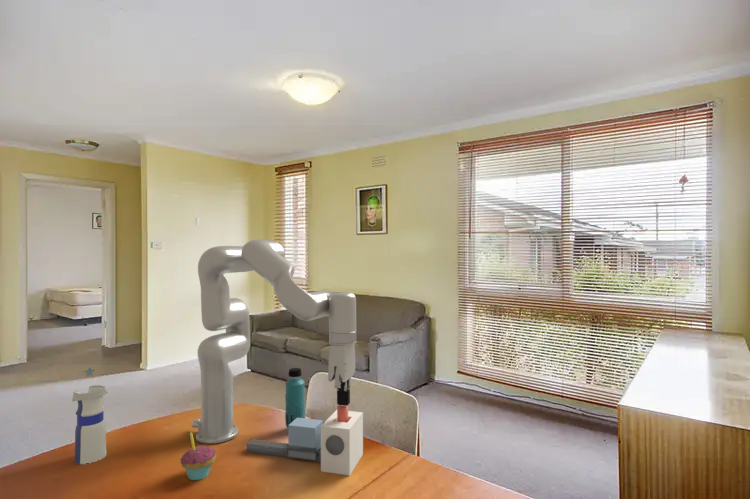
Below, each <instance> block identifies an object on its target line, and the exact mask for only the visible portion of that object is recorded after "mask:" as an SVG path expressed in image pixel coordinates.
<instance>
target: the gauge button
mask: <svg viewBox="0 0 750 499" xmlns="http://www.w3.org/2000/svg"><path fill="white" fill-rule="evenodd" d="M336 408H337V409H336V410H337V421H338V422H348V411H349V404H348V405H347V406H345V405H338V404H337V407H336Z"/></svg>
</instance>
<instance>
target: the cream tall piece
mask: <svg viewBox="0 0 750 499" xmlns="http://www.w3.org/2000/svg"><path fill="white" fill-rule="evenodd" d="M96 370H97V368H92V367H91V366H89V367H88V368H87V369H85V370H83V371H82V373H85V376H84V378H87V377H94V376H95V375H94V372H95V371H96ZM107 393H108V390H107V388H106V386H104V385H100V384H97V385H95V384H94V385H90V386H89V387H88V392H87V393H85V392H83V393H81V392H80V391H79V390H78V389H75V390H74V391H73V393H72V394H73V395H72V399H71V401H72V402H77V405H78V406H77V409H76V410H75V415H76V426H75V431H74V438H75V439H74V455H73V457H74V458H73V463H74V462H75V463H74V464H76V463H77V464H76V465H87V464H86V463H89V464H93V463H96V462H98V460H99V461H101V460H103V459H104V458H105V457H107V453H108V452H107V439H106V438H107V436H106V420H104V415H105V414H104V411H105V409H106V407H105V405H104V403H103V402H104V401H103V398H104V397H103V396H105V395H106V394H107ZM92 462H93V463H92Z"/></svg>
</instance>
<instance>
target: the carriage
mask: <svg viewBox="0 0 750 499" xmlns="http://www.w3.org/2000/svg"><path fill="white" fill-rule="evenodd" d="M323 423H324V420H323V419H313V418H306V417H305V418H296V419H295V420H294V421H293V422H292V423H290V424H289V425H288V428H287V429H288V431H287V432H288V434H287V435H288V438H287V439H288V443H287V444H288V456H289V457H296V458H304V459H311V460H316V452H317V451H318V450H319V449H320V448H321V425H322V424H323Z"/></svg>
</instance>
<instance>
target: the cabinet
mask: <svg viewBox="0 0 750 499" xmlns="http://www.w3.org/2000/svg"><path fill="white" fill-rule="evenodd" d="M363 454H364V412H362V411H353V410H348V422H338V421H337V409H336V410H335V411H334V412H333V413H332V414H331V415H330V416H329V417H328V418H327V419H326V420H325V421H323V424H322V425H321V462H320V472H321V473H329V474H336V475H342V476H351V475H352V472H353V471H354V470H355V468H356V466H357V464H358V463H359V462H360V459H362V456H363Z"/></svg>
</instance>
